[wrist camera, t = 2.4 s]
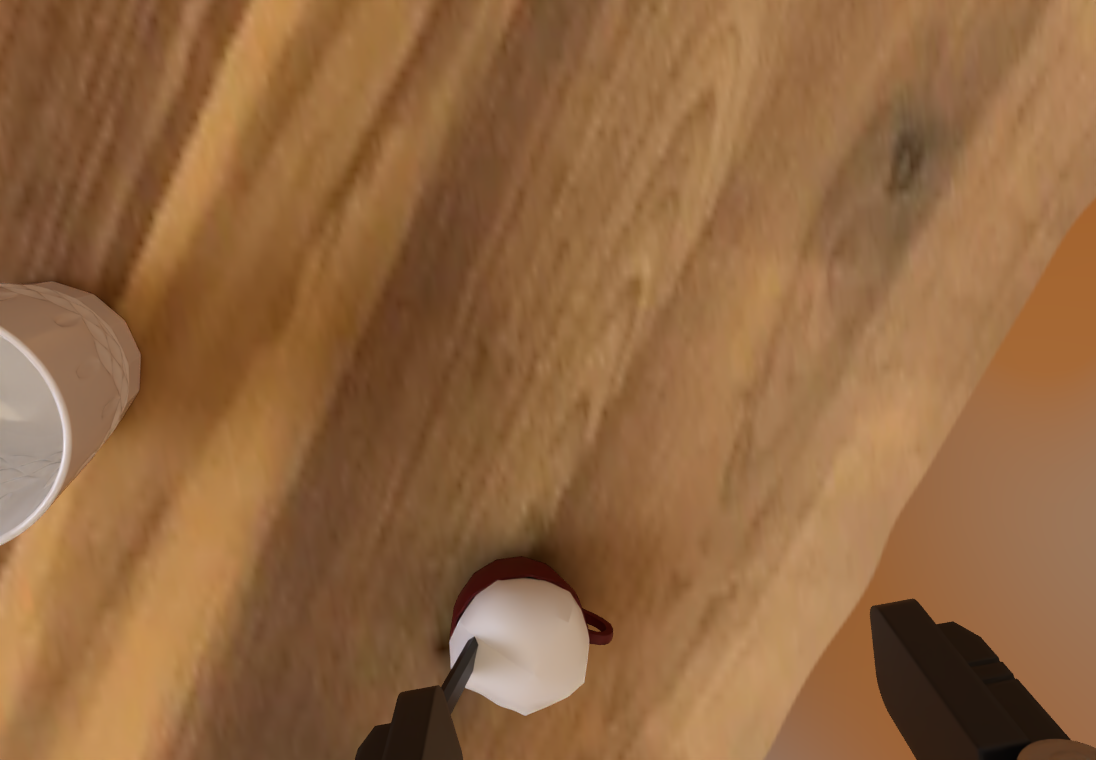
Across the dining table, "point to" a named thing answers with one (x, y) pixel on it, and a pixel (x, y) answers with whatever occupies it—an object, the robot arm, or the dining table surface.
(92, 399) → the white cup
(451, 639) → the cocoa
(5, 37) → the dining table surface
